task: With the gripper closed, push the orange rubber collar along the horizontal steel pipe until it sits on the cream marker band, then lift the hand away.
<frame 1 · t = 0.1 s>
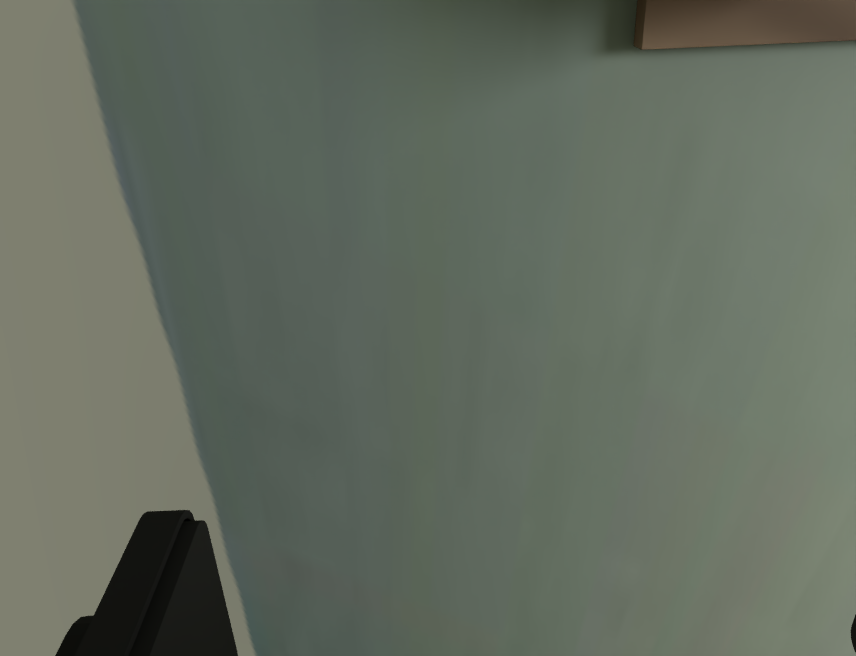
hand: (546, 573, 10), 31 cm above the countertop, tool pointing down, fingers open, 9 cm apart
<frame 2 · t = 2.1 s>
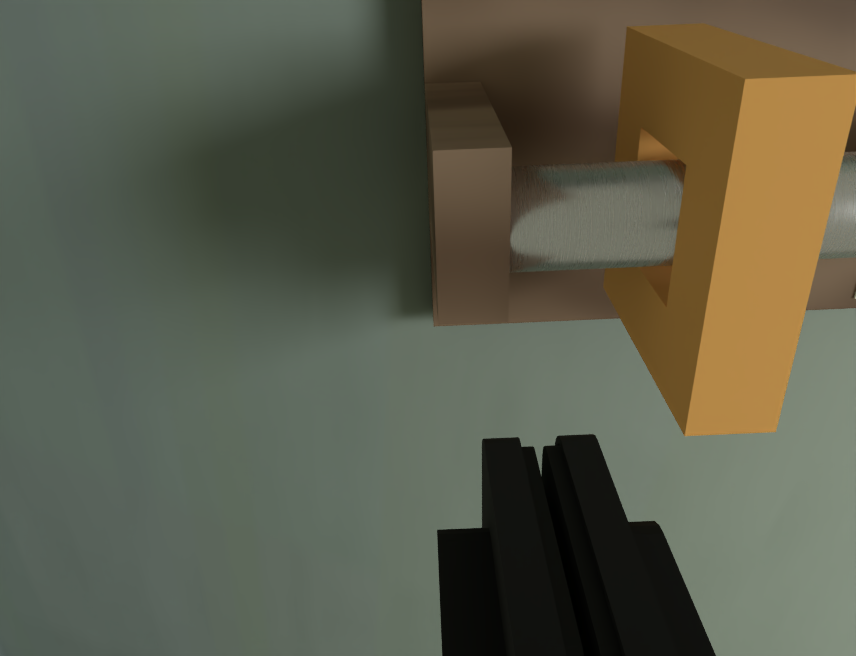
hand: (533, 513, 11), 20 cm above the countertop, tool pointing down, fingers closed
collar: (694, 212, 21), point 9 cm above the countertop, slide at -5.0 cm
pipe stand: (741, 128, 29), on the countertop
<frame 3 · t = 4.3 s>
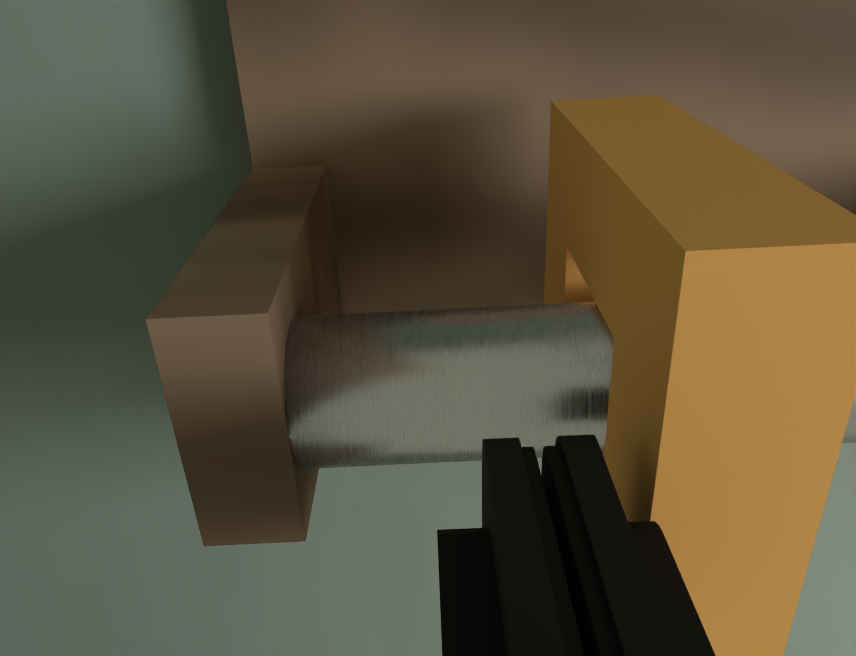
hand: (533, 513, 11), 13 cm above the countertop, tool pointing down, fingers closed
collar: (642, 375, 14), point 9 cm above the countertop, slide at -3.7 cm, touching gripper
pipe stand: (681, 215, 22), on the countertop
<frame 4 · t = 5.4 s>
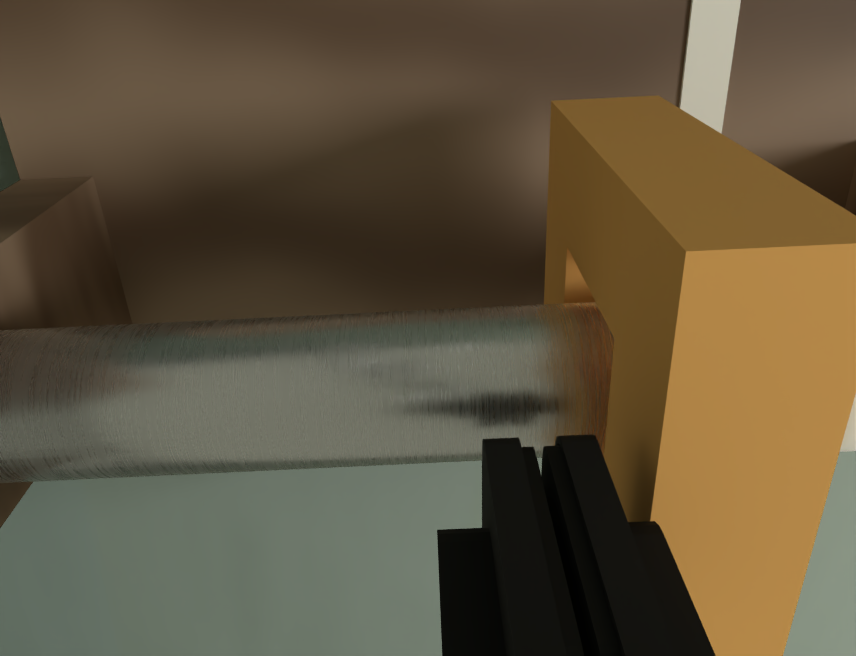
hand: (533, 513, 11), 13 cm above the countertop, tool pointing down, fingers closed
collar: (642, 375, 14), point 9 cm above the countertop, slide at 2.7 cm, touching gripper
pipe stand: (473, 225, 22), on the countertop
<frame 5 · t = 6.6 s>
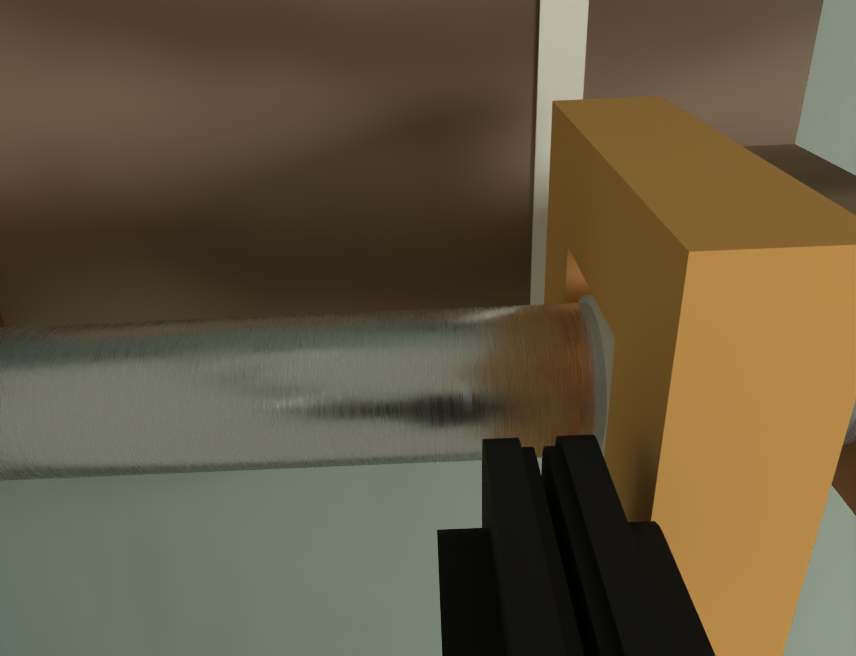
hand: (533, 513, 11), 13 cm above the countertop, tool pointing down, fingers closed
collar: (642, 376, 14), point 9 cm above the countertop, slide at 6.5 cm, touching gripper
pipe stand: (349, 230, 22), on the countertop
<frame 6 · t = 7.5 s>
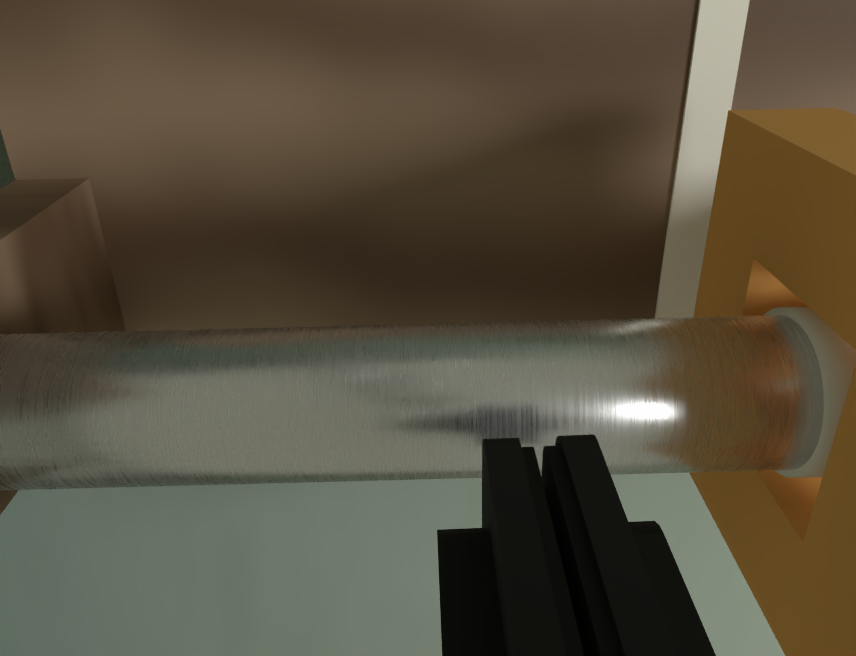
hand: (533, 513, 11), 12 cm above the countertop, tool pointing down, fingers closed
collar: (838, 390, 14), point 9 cm above the countertop, slide at 6.5 cm
pipe stand: (472, 236, 22), on the countertop
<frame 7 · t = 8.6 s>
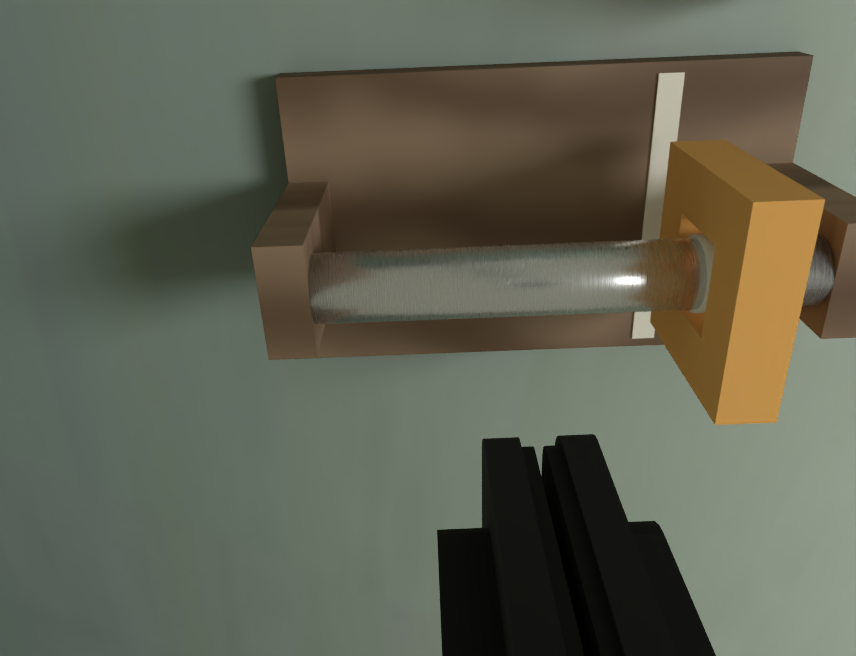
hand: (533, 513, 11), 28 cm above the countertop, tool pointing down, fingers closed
collar: (720, 272, 30), point 9 cm above the countertop, slide at 6.5 cm
pipe stand: (534, 212, 38), on the countertop
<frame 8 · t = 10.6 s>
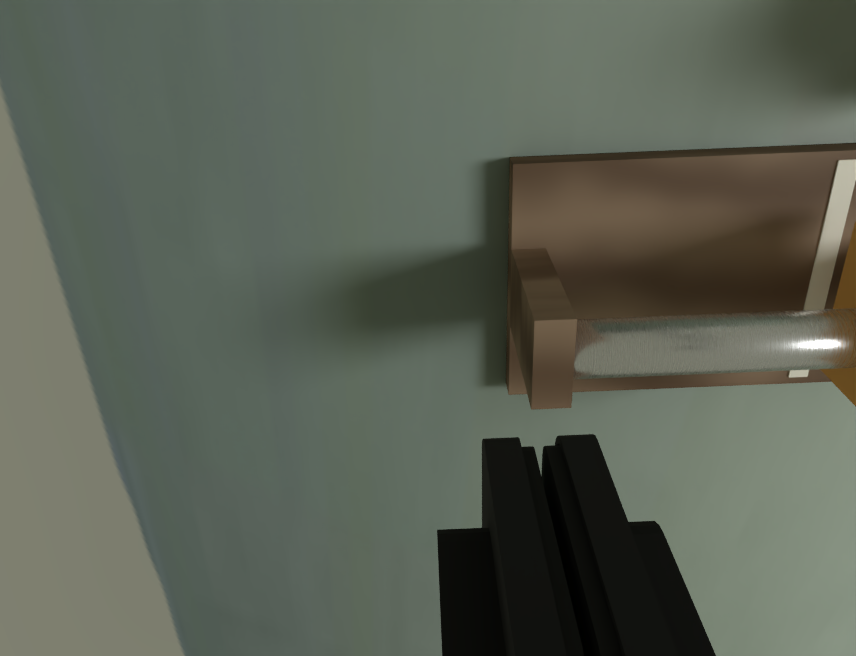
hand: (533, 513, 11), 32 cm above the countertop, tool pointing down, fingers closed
pipe stand: (711, 270, 44), on the countertop
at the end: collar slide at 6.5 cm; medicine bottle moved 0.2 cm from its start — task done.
